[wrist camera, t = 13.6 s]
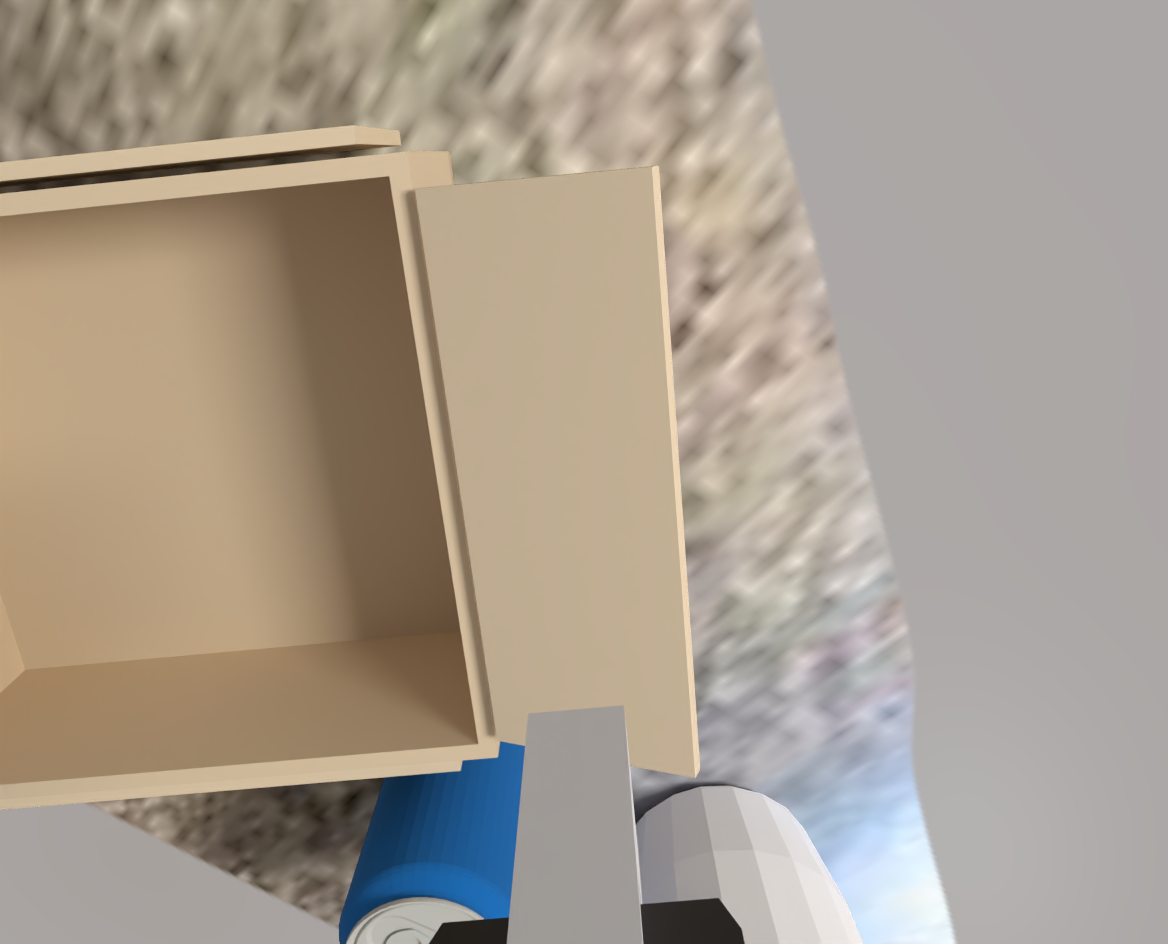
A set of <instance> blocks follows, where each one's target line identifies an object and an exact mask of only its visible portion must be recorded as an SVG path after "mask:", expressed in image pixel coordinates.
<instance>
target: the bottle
mask: <svg viewBox="0 0 1168 944" xmlns="http://www.w3.org/2000/svg"><path fill="white" fill-rule="evenodd" d="M636 834H637V844H638V856H639V868H640V880H641V892H642V904H649V903H662V902H674V901H686V900H699V899H711V898H719V899H720V900H721V902H722V903H723V904H724V906H725V907H726V908H727V910H728V911H729V912H730V914H731V915H732V916H733V918H734V919H735V920H736V922H737V923H738V924H739V926H740V927H741V928H742V933H743V937H744V942H745V944H863V941H862V939H861V936H860V934H859V932H858V929H857V927H856V924H855V922H854V920H853V917H852V915H851V913H850V910H849V908H848V905H847V903H846V901H845V899H844V898H843V896H842V894H841V892H840V891H839V889H838V887H837V885H836V884H835V882H834V880H833V878H832V877H831V875H830V873H829V871H828V870H827V868H826V866H825V864H824V863H823V861H822V859H821V858H820V856H819V854H818V852H817V851H816V849H815V847H814V845H813V844H812V842H811V840H810V838H809V837H808V835H807V833H806V831H805V830H804V828H803V827H802V826H801V824H800V823H799V822H798V821H797V820H796V819H795V817H794V816H793V815H792V814H791V813H790V812H789V810H788V809H787V808H785V807H784V806H782V805H780V804H779V803H777V802H775V801H774V800H772V799H770V798H768V797H767V796H765V795H763V794H761V793H758V792H754V791H749V790H745V789H741V788H737V787H733V786H729V785H727V786H700V787H697V788H693V789H690V790H687V791H683V792H680V793H677V794H674V795H672V796H671V797H669V798H668V799H666V800H664V801H663V802H661V803H660V804H658V805H657V806H655V807H653V808H652V809H650V810H649V811H647V812H646V813H645V814H644V815H643V817H642V818H641V819H640V820H639V821H638V823H637V824H636Z"/></svg>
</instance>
